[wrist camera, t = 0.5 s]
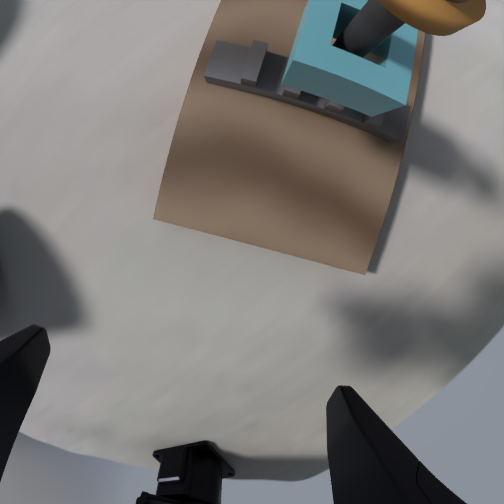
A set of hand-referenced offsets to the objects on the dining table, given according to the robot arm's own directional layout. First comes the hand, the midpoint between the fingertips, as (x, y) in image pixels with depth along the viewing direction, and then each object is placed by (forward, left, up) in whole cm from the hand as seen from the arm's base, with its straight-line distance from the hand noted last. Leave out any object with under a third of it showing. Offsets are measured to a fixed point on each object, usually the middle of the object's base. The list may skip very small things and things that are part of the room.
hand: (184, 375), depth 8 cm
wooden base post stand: (+7, -10, -13) cm, 18 cm away
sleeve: (+7, -10, -5) cm, 13 cm away
